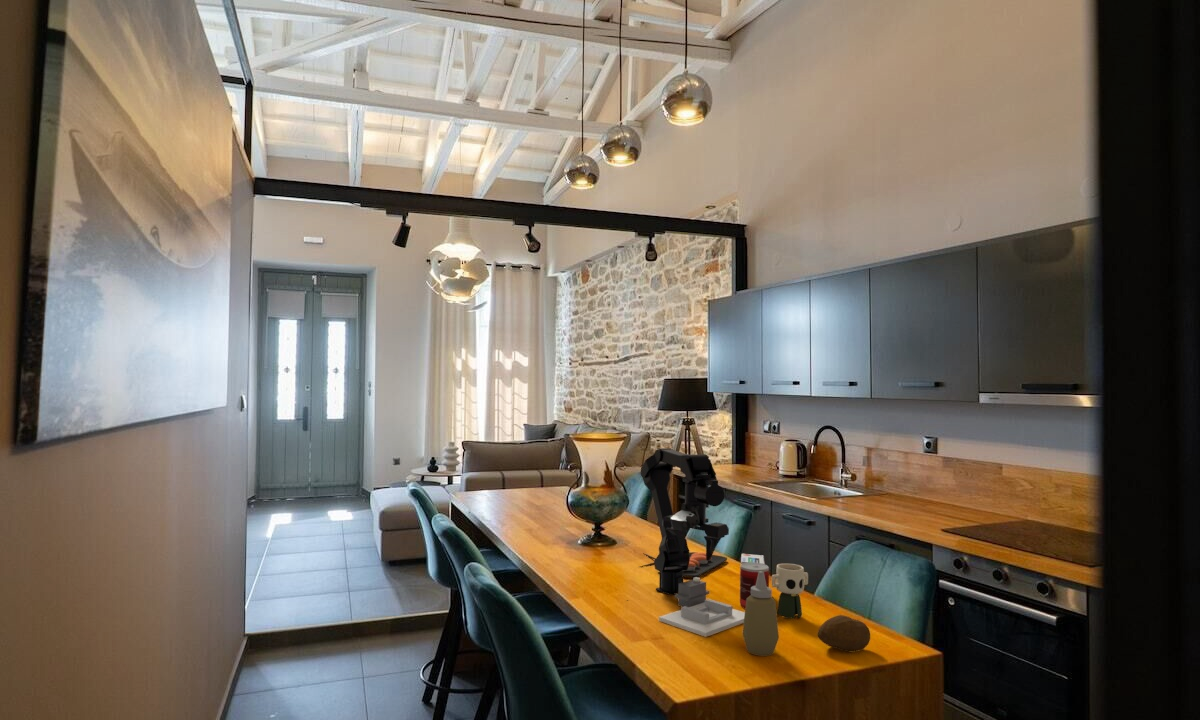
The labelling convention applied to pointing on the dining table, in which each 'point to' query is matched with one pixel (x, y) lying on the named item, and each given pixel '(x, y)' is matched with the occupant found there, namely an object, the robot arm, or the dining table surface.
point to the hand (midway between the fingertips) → (694, 557)
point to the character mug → (790, 588)
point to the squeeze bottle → (760, 620)
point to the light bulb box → (752, 558)
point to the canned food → (750, 579)
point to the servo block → (691, 592)
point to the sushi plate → (699, 563)
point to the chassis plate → (705, 618)
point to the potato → (844, 633)
